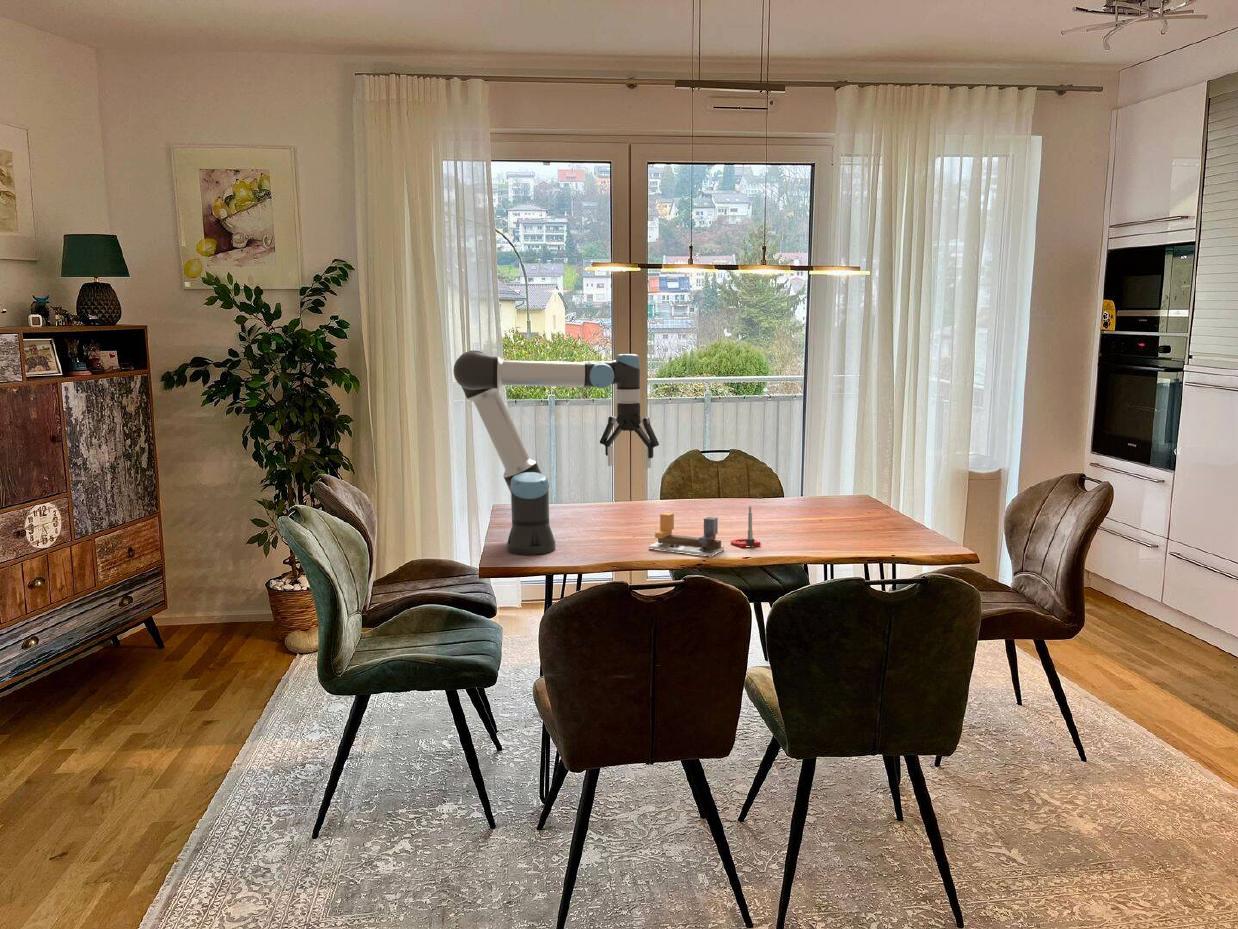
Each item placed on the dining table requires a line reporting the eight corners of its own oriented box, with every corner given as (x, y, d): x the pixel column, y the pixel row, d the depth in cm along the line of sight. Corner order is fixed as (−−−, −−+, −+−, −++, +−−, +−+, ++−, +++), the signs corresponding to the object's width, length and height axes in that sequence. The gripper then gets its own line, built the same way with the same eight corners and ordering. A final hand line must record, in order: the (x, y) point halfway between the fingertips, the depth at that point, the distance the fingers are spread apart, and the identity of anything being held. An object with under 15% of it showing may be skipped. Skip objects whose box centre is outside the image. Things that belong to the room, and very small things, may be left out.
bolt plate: (710, 557, 280) (710, 547, 280) (648, 549, 290) (648, 539, 290) (723, 550, 289) (723, 539, 288) (662, 542, 299) (662, 533, 298)
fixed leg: (707, 549, 282) (707, 522, 281) (697, 548, 284) (697, 521, 283) (717, 544, 289) (717, 517, 288) (707, 542, 291) (708, 516, 289)
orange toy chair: (663, 544, 290) (663, 517, 288) (653, 543, 291) (653, 516, 290) (673, 538, 296) (673, 513, 295) (664, 537, 298) (664, 512, 296)
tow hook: (726, 543, 299) (739, 548, 290) (725, 503, 297) (739, 507, 289) (749, 541, 302) (763, 546, 293) (749, 501, 300) (763, 505, 291)
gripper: (668, 402, 300) (668, 467, 303) (599, 399, 311) (600, 462, 314) (659, 404, 293) (659, 470, 297) (589, 401, 304) (590, 466, 308)
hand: (629, 466), depth 305 cm, fingers open, 13 cm apart
